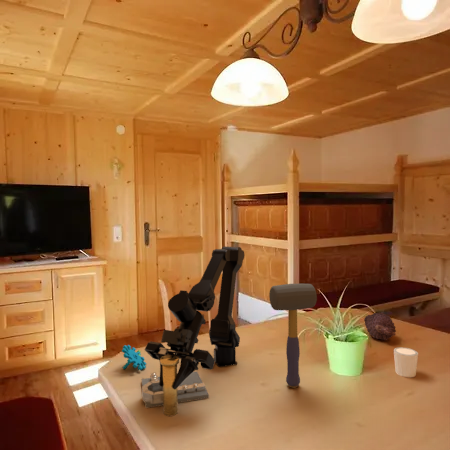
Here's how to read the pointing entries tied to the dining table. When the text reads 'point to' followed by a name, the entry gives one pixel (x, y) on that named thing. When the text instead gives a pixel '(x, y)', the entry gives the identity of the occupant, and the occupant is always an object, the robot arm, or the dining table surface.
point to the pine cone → (380, 326)
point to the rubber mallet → (292, 320)
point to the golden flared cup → (169, 384)
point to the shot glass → (405, 361)
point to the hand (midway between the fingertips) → (167, 387)
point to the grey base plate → (184, 397)
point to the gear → (133, 357)
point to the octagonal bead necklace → (157, 397)
